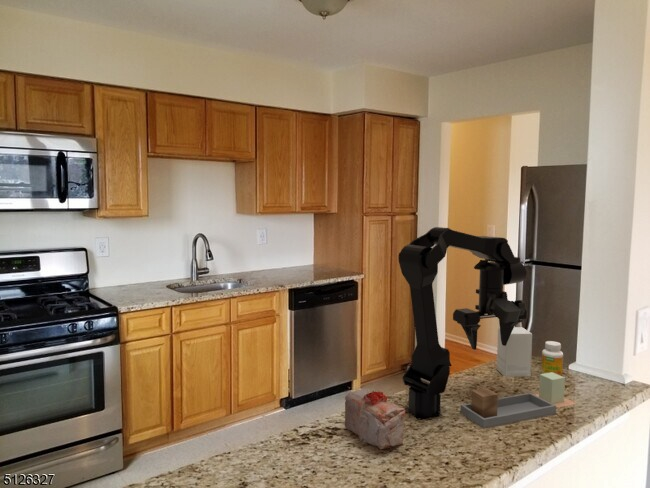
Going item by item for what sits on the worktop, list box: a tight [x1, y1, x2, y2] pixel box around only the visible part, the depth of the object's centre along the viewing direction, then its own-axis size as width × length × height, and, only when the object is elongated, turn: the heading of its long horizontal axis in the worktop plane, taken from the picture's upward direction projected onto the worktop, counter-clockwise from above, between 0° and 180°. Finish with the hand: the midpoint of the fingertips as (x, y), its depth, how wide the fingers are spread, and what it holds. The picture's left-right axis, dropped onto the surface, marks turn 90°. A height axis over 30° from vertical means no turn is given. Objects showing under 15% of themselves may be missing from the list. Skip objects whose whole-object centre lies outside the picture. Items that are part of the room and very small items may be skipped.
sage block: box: [538, 372, 566, 404], centre depth 123 cm, size 4×4×6 cm
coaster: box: [533, 393, 578, 409], centre depth 123 cm, size 8×8×1 cm
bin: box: [460, 392, 557, 429], centre depth 115 cm, size 20×8×2 cm, turn 111°
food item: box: [344, 389, 406, 451], centre depth 105 cm, size 14×8×10 cm, turn 37°
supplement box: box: [496, 326, 533, 377], centre depth 142 cm, size 7×7×13 cm
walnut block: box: [470, 387, 499, 418], centre depth 113 cm, size 4×4×6 cm
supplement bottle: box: [540, 340, 564, 377], centre depth 139 cm, size 5×5×10 cm
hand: (489, 347), depth 127 cm, fingers open, 9 cm apart
